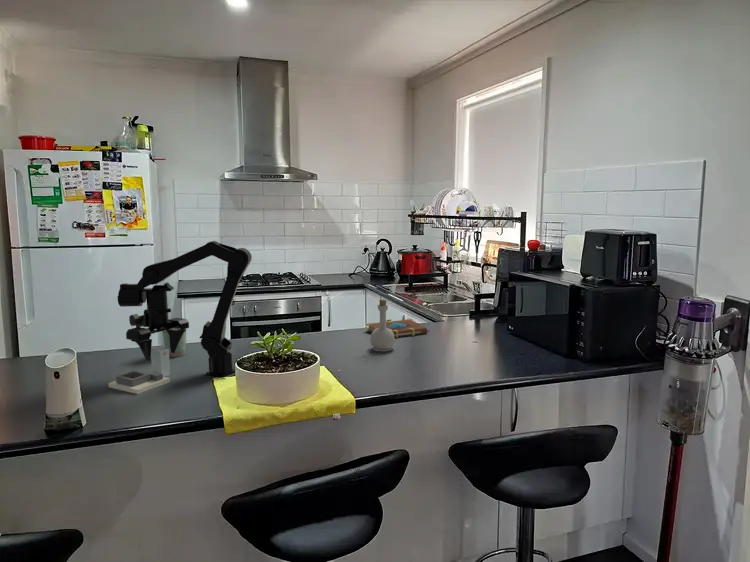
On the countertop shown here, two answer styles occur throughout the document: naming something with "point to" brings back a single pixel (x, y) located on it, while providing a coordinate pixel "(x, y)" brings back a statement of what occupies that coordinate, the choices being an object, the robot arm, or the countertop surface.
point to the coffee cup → (180, 348)
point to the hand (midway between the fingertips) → (160, 356)
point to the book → (401, 327)
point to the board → (138, 381)
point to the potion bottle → (382, 332)
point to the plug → (160, 361)
